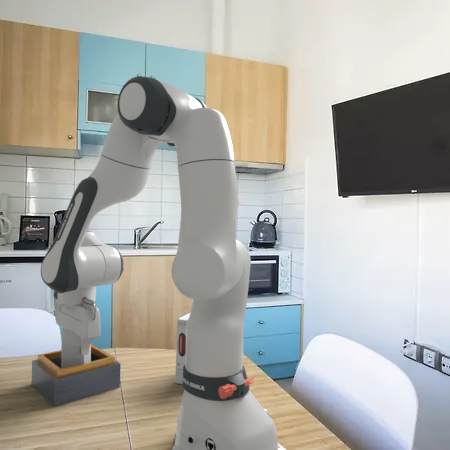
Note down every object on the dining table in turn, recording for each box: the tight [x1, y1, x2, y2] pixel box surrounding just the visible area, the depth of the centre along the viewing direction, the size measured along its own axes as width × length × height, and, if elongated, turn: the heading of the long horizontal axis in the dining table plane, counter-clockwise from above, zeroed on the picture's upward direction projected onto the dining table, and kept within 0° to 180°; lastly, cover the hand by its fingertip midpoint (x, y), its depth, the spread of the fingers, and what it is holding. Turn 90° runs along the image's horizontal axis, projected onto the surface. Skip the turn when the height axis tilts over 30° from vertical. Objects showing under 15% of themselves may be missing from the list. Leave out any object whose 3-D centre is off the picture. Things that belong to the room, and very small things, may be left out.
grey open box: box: [31, 343, 121, 408], centre depth 97 cm, size 19×16×8 cm
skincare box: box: [60, 330, 92, 369], centre depth 96 cm, size 6×4×12 cm
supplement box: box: [174, 312, 191, 385], centre depth 101 cm, size 10×9×17 cm
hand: (76, 349), depth 96 cm, fingers open, 8 cm apart
